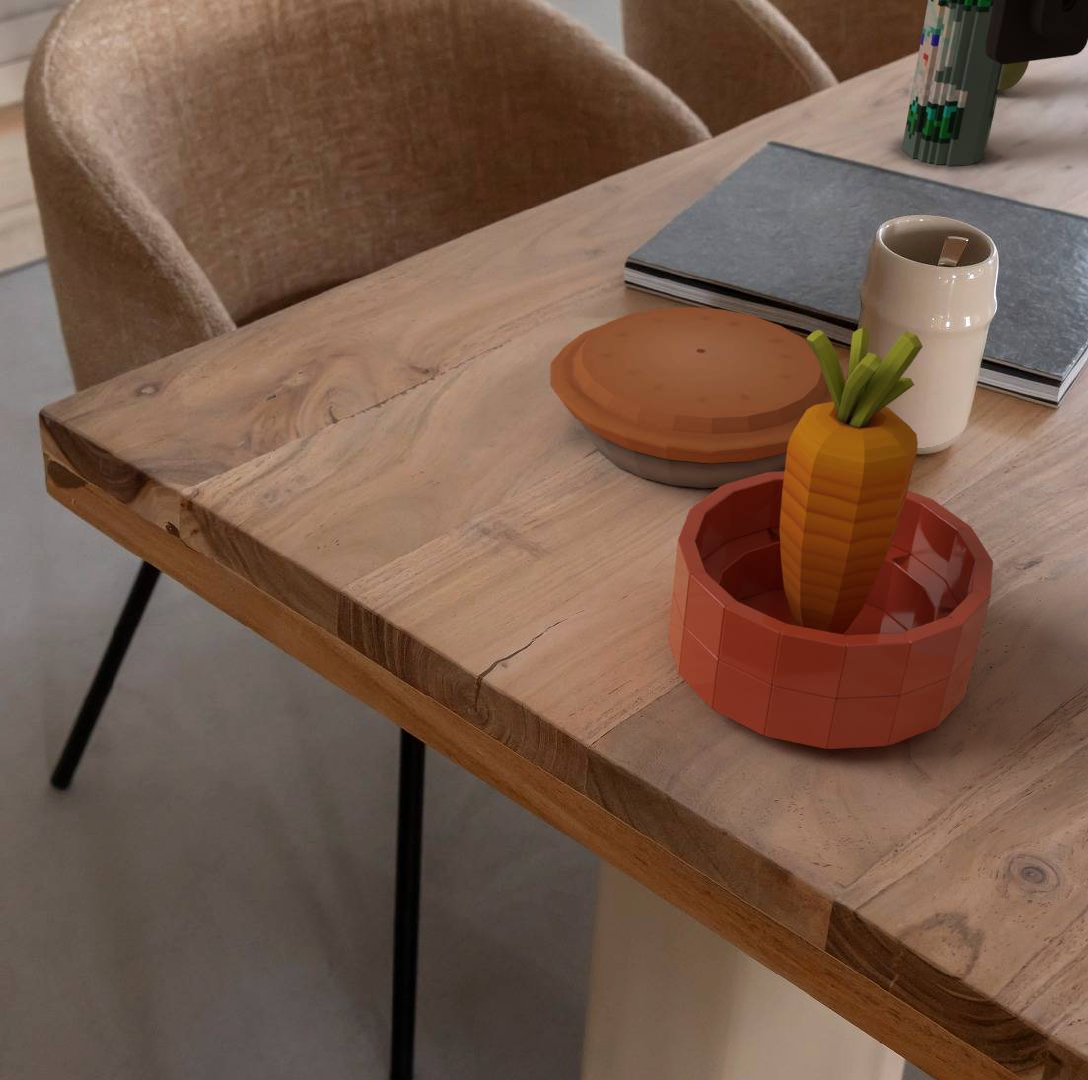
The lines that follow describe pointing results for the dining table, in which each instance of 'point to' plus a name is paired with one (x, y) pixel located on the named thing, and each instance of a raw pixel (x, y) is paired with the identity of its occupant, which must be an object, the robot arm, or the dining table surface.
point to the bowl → (819, 656)
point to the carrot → (845, 483)
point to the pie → (690, 393)
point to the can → (953, 85)
